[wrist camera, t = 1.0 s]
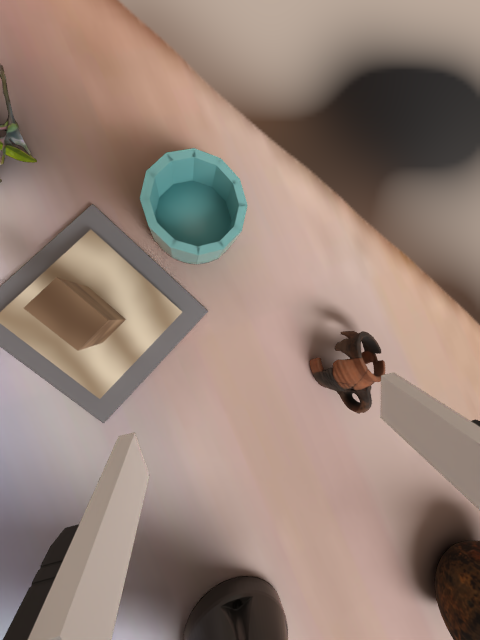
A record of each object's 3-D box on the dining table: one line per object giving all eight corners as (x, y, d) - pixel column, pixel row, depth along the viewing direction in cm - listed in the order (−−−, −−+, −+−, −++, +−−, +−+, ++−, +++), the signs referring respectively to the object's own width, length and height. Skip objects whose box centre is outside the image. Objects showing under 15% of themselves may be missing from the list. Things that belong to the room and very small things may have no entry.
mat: (104, 421, 32) (103, 423, 32) (-33, 319, 29) (-37, 319, 28) (207, 311, 35) (208, 311, 35) (93, 205, 32) (92, 204, 31)
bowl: (196, 281, 35) (199, 274, 29) (129, 218, 33) (117, 197, 27) (252, 224, 36) (265, 206, 30) (191, 160, 34) (193, 128, 28)
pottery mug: (299, 343, 39) (346, 329, 33) (331, 336, 45) (376, 323, 39) (322, 421, 37) (378, 421, 30) (353, 403, 43) (404, 400, 36)
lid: (102, 396, 32) (73, 424, 23) (0, 318, 29) (-74, 318, 21) (182, 312, 34) (181, 310, 26) (93, 231, 31) (61, 201, 23)
